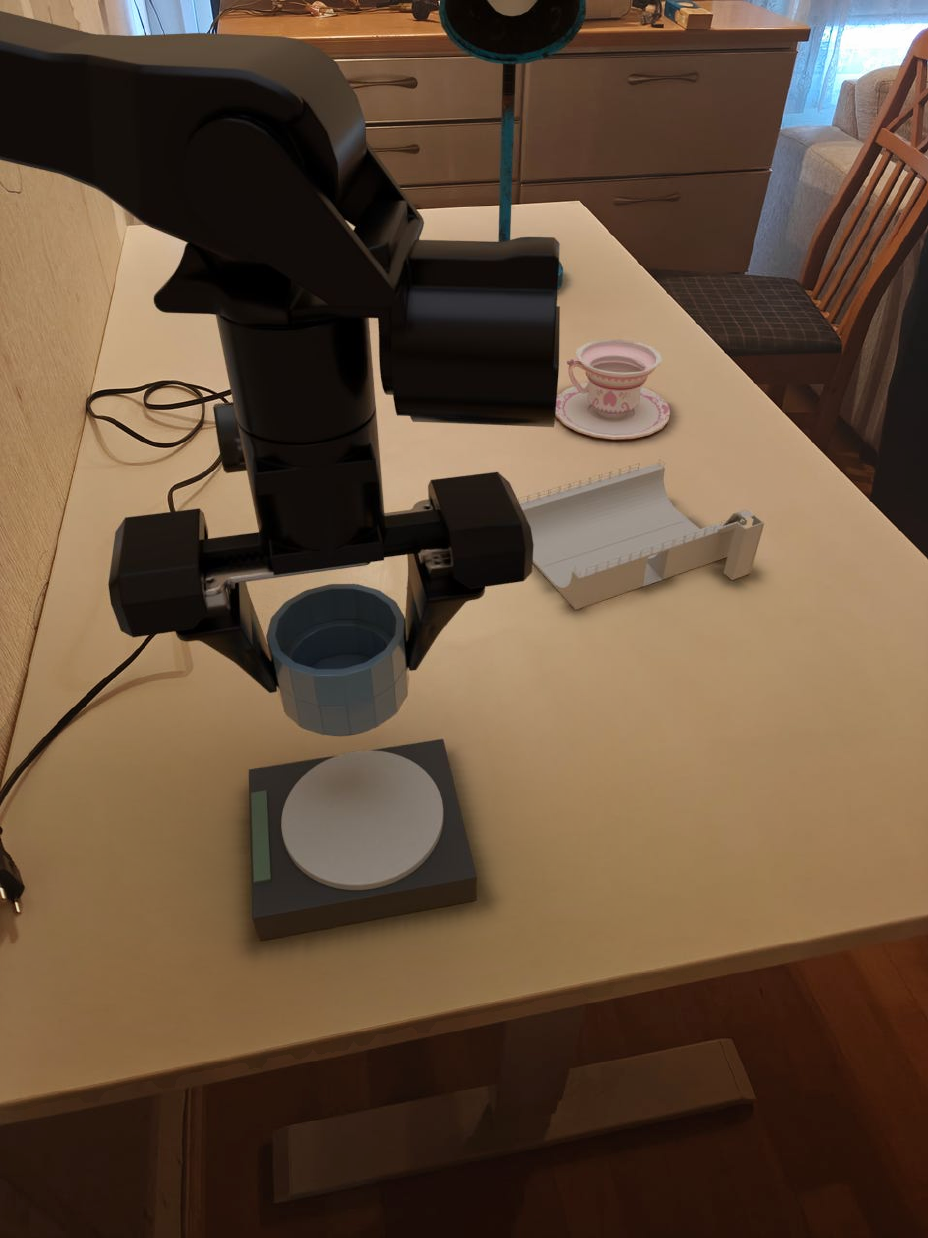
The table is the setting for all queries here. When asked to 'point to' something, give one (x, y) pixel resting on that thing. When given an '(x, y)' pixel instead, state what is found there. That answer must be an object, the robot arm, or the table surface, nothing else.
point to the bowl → (339, 658)
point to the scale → (356, 839)
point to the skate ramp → (628, 537)
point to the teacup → (613, 392)
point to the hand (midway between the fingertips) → (343, 675)
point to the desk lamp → (511, 57)
